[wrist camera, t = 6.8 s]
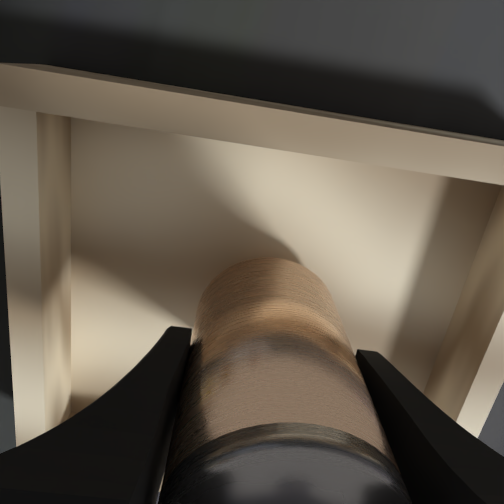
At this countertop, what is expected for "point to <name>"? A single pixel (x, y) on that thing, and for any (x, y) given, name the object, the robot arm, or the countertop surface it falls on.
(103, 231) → the tray
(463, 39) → the countertop surface
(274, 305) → the can
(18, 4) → the countertop surface
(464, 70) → the countertop surface
